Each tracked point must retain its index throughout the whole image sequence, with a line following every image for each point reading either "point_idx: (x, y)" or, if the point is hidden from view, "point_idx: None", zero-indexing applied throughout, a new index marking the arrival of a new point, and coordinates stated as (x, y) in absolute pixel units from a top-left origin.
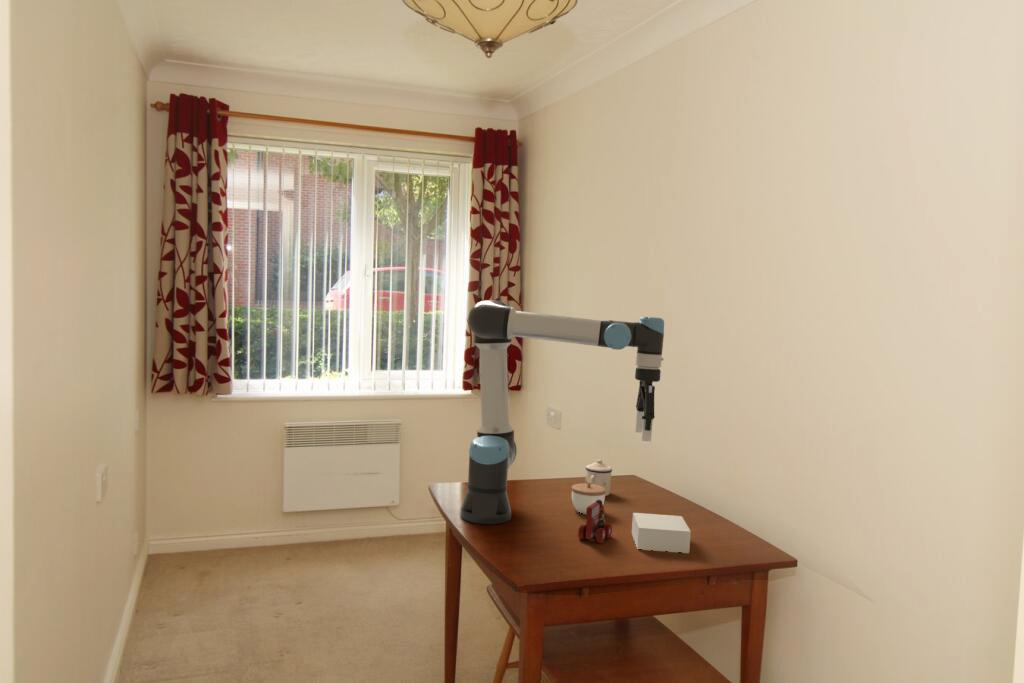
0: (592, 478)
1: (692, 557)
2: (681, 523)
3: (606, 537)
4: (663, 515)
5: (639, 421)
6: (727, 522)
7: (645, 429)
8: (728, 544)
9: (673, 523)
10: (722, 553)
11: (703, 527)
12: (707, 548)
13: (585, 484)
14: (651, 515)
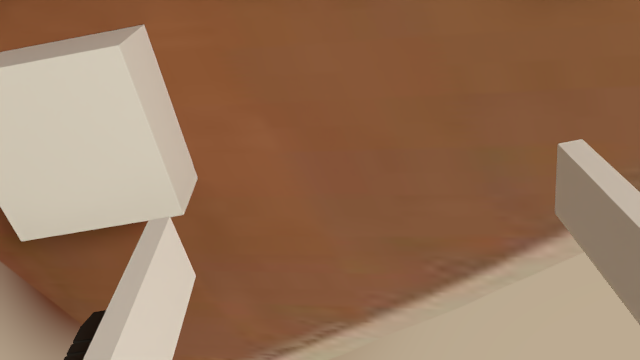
0: None
1: None
2: (93, 215)
3: None
4: (154, 158)
5: (612, 234)
6: (407, 291)
7: (95, 317)
8: (199, 288)
9: (74, 192)
10: (112, 274)
11: (328, 235)
12: (131, 243)
13: None
14: (125, 118)
